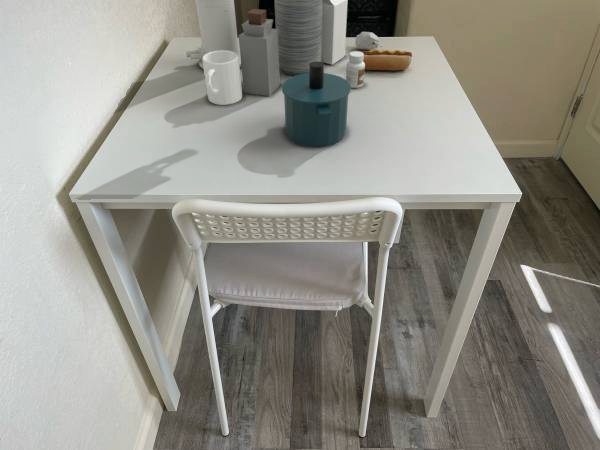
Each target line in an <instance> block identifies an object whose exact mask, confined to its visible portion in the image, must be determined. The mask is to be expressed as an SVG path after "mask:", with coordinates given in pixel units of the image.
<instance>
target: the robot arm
mask: <svg viewBox="0 0 600 450" xmlns="http://www.w3.org/2000/svg"><path fill="white" fill-rule="evenodd" d="M194 1H195V6H196V14H197V20H198V27H199V34H200V40H201V45H200V47H197V48H196V49H194V48H193V49H191V48H190V49H185V54H186V58H190V59H191V60H198V65H199V67H200V68H201V69H202V70H204V68H203V61H202V58H203V56H204V55H205V54H207V53H209V52H213V51H218V50H227V51H232V52H235V53H236V54H237V55H238V56H239V66H240V68H242V67H241V57H240V47H239V37H238V30H237V19H236V8H235V0H194Z"/></svg>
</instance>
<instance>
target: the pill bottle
mask: <svg viewBox="0 0 600 450" xmlns="http://www.w3.org/2000/svg"><path fill="white" fill-rule="evenodd" d="M363 58H364V54H363V53H362V52H361V51H358V50H354V51H351V52H349V55H348V60H349V61H348V62H347V63H346V73H345V80H346V81H348V82H349V84H350V86H351V89H358V88H361V87H363V85H364V80H365V63H364V62H363Z"/></svg>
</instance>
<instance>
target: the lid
mask: <svg viewBox="0 0 600 450" xmlns="http://www.w3.org/2000/svg"><path fill="white" fill-rule="evenodd" d="M351 91H352V88H351V86H350V84H349V82H348V81H346V78H343V77H341V76H339V75H336V74H332V73H325V63H323V62H317V61H316V62H311V63H310V64H309V73H305V74H300V75H296V76H294V75H292V76H291V77H289V78H287V79H286V80H285V81H284V82H282V86H281V92H282V94H283V96H284V95H285V96H286V97H287V98H289V99H291V100H293V101H296V102H299V103H304V104H313V105H320V104H329V103H334V102H337V101H340V100H342V99H344V98H346V97H347V96H348V97H349V95H350V93H351Z"/></svg>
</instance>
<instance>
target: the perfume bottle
mask: <svg viewBox="0 0 600 450" xmlns="http://www.w3.org/2000/svg"><path fill="white" fill-rule="evenodd" d="M246 15H247V20H246V21H245V22H243V23H242V24H241V27H242V29H243V32H241V33H240V34H239V35H238V47H239V53H240V57H241V67H240V68H241V76H242V78H241V79H242V89H243V93H244V94H251V95H257V96H264V97H271V96H272V95H273V93H274V92H275V91H276V90H277V89H278V87H280V85H281V84H280V66H279V56H278V31H277V29H276V28H273V23H274V19H272V18H271V19H270V18H267V9H260V8H259V9H258V8H252V9H251V10H249V11H247V13H246Z"/></svg>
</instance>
